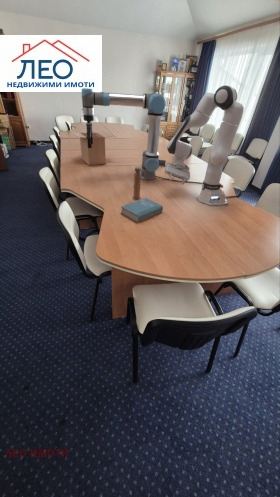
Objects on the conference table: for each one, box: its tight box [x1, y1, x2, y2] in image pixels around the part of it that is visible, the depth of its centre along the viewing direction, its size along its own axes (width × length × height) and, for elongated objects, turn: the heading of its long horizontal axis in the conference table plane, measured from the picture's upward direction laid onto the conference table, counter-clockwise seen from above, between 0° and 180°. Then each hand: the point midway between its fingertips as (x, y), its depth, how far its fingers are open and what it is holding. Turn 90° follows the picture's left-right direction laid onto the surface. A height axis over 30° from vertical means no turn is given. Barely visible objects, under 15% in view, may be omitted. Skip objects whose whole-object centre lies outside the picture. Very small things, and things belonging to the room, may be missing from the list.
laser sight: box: [158, 159, 167, 167], centre depth 236 cm, size 10×22×10 cm, turn 78°
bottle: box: [132, 171, 142, 200], centre depth 160 cm, size 5×5×22 cm
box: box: [70, 129, 114, 166], centre depth 229 cm, size 44×36×27 cm
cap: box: [134, 167, 142, 172], centre depth 154 cm, size 4×4×2 cm
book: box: [120, 197, 164, 223], centre depth 146 cm, size 23×16×5 cm
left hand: (90, 146), depth 173 cm, fingers open, 13 cm apart
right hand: (177, 181), depth 163 cm, fingers open, 8 cm apart
